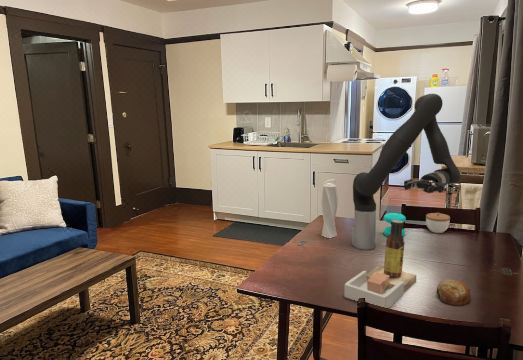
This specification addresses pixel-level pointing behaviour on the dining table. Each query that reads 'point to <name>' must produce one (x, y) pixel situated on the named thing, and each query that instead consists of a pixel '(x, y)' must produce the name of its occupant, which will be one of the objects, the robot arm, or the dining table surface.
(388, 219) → the teal rounded shape
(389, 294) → the box
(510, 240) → the dining table surface
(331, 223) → the skyscraper
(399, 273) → the sauce bottle
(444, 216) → the lidded jar
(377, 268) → the board
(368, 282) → the tile
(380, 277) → the tan block
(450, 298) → the bread roll
